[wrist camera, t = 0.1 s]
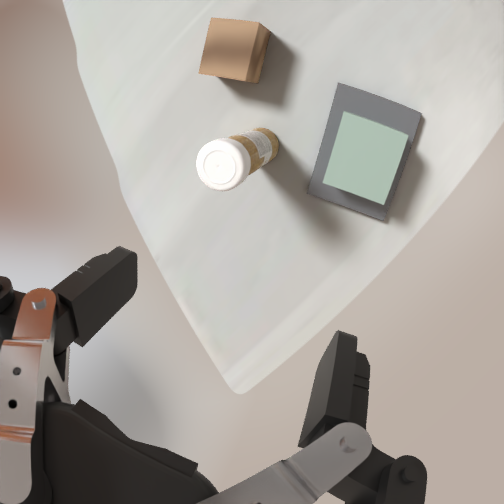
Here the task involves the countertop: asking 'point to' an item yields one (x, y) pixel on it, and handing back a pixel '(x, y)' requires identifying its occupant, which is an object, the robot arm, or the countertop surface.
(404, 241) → the countertop surface
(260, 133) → the sprinkles bottle
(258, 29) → the walnut brick
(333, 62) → the countertop surface
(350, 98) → the build plate
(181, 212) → the countertop surface
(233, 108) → the countertop surface
